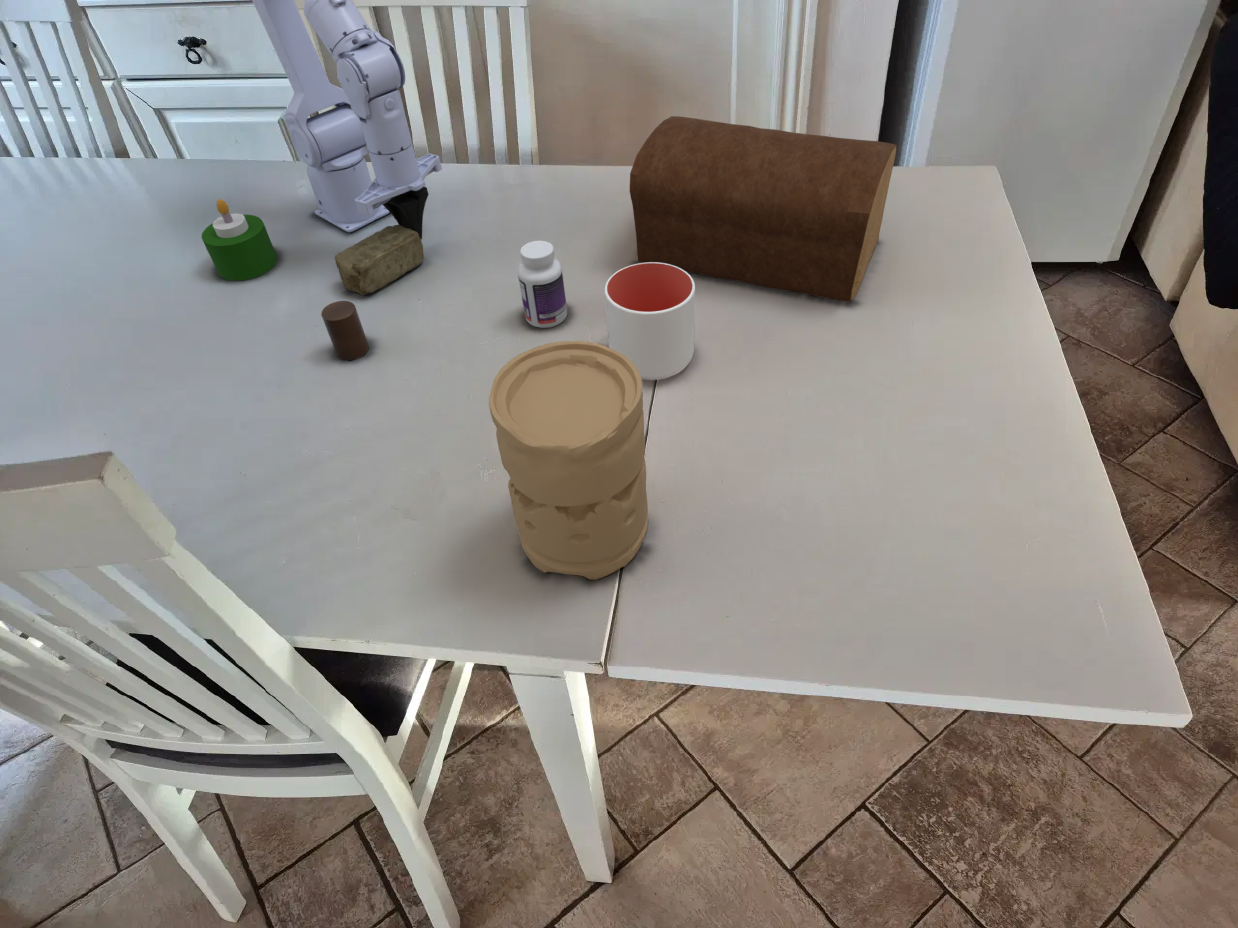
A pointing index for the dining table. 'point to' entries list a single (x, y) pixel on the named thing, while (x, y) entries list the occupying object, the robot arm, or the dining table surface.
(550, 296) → the pill bottle
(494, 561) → the dining table surface
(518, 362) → the container
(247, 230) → the candle
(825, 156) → the bread
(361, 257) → the stone block
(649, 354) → the cup
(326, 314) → the post
